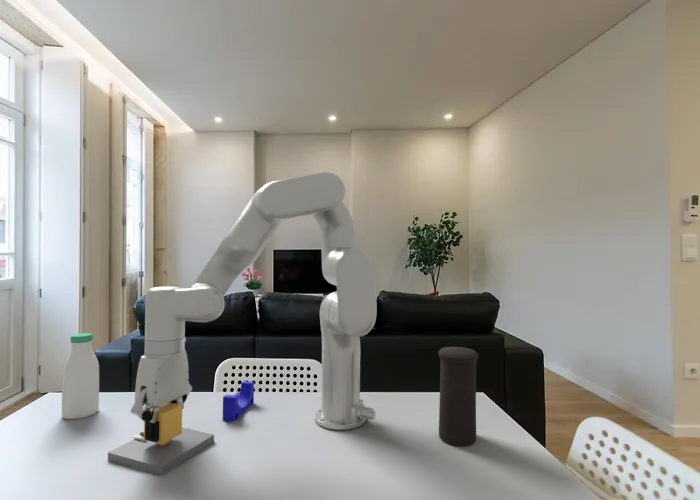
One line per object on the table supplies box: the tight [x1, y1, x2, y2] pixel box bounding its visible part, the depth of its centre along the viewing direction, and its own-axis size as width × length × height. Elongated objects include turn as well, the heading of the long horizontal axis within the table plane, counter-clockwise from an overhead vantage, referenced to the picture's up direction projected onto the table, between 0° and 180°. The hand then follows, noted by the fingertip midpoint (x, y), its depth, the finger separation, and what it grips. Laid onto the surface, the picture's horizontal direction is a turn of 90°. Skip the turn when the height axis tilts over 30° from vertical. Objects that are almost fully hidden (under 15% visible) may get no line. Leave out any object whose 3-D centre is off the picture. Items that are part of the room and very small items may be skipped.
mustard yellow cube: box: [143, 402, 183, 444], centre depth 81 cm, size 5×5×6 cm
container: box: [438, 346, 479, 447], centre depth 88 cm, size 9×9×20 cm
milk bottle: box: [61, 332, 100, 420], centre depth 99 cm, size 8×8×20 cm
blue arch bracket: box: [222, 380, 255, 422], centre depth 101 cm, size 12×4×6 cm, turn 171°
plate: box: [107, 427, 215, 476], centre depth 81 cm, size 14×14×6 cm
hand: (163, 433), depth 81 cm, fingers closed on mustard yellow cube, 5 cm apart
